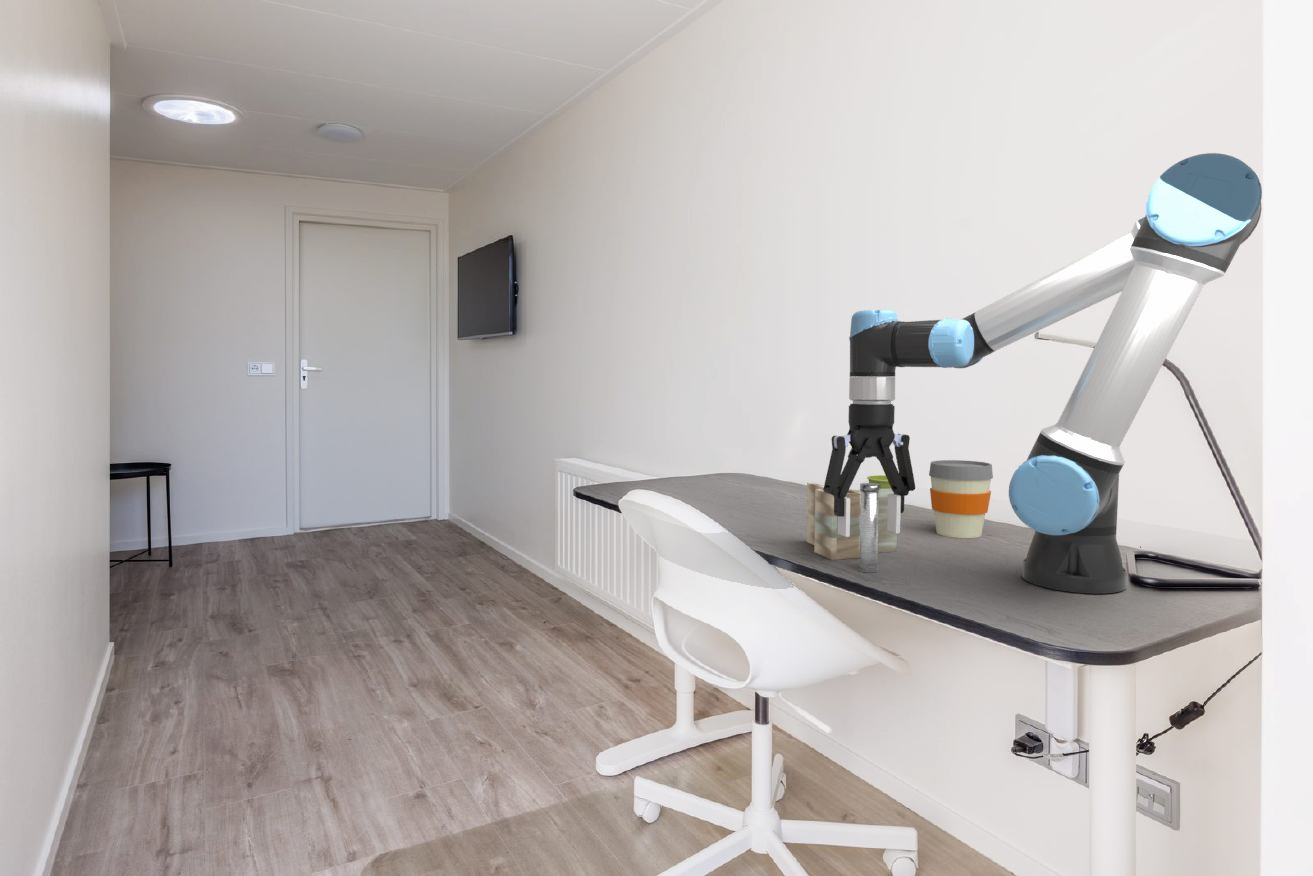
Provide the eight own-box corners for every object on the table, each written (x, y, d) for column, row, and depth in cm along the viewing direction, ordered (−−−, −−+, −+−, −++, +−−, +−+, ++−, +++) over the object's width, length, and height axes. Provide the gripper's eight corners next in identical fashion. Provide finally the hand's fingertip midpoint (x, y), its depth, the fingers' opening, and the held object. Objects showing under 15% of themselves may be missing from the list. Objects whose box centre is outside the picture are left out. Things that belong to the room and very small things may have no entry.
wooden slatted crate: (904, 554, 147) (906, 491, 146) (831, 559, 143) (832, 494, 142) (861, 537, 162) (862, 480, 161) (794, 542, 158) (794, 483, 157)
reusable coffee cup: (985, 542, 158) (987, 468, 156) (921, 535, 164) (923, 464, 163) (995, 531, 168) (997, 462, 167) (934, 525, 175) (936, 458, 174)
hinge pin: (881, 572, 134) (883, 485, 133) (864, 573, 134) (866, 486, 132) (871, 567, 138) (873, 482, 136) (855, 568, 137) (856, 483, 135)
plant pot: (906, 510, 194) (907, 475, 193) (906, 517, 185) (907, 481, 184) (867, 508, 197) (867, 474, 196) (865, 515, 188) (866, 479, 187)
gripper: (914, 401, 140) (911, 525, 142) (803, 402, 134) (801, 532, 136) (940, 402, 133) (936, 534, 134) (824, 404, 127) (822, 541, 128)
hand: (868, 533), depth 135 cm, fingers open, 9 cm apart
